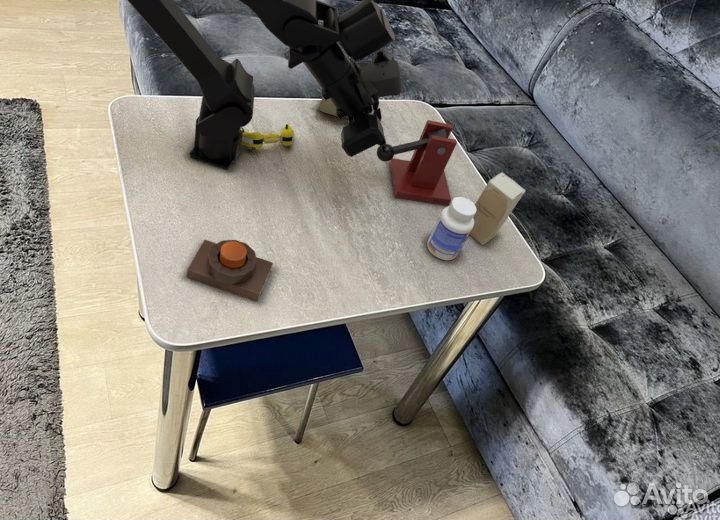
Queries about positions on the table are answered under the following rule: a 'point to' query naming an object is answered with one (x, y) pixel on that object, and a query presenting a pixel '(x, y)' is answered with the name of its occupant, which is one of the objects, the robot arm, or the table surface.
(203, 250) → the button block
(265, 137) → the yellow striped curved toy
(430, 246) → the pill bottle
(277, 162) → the table surface
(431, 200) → the lever bracket
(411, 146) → the black lever handle
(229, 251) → the button
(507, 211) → the box
